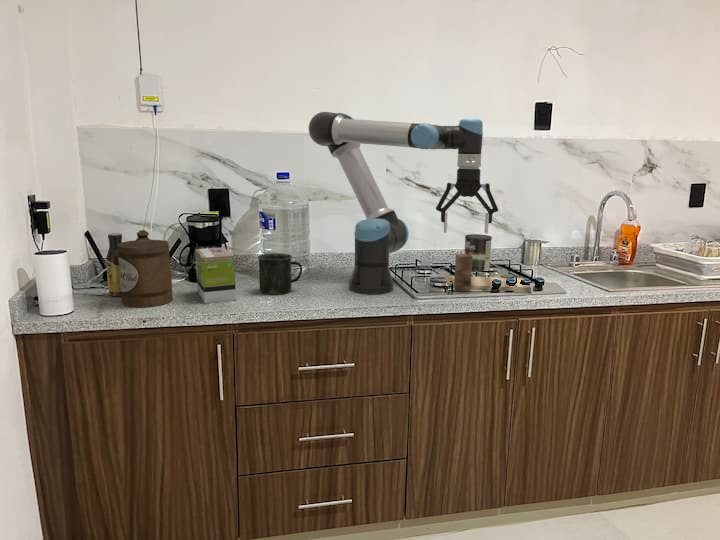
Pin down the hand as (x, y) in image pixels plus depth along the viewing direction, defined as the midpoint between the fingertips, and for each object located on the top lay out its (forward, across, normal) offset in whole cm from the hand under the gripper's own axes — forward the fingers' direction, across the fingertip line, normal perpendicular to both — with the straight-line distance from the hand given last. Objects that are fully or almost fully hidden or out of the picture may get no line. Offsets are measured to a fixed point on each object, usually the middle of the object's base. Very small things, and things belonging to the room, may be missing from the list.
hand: (465, 232), depth 188 cm
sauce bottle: (+20, -111, -20) cm, 115 cm away
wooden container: (+20, -99, -26) cm, 104 cm away
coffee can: (+20, +9, +32) cm, 39 cm away
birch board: (+20, +9, +6) cm, 23 cm away
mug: (+20, -61, -9) cm, 65 cm away
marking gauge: (+20, 0, +4) cm, 20 cm away
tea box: (+20, -80, -18) cm, 85 cm away
